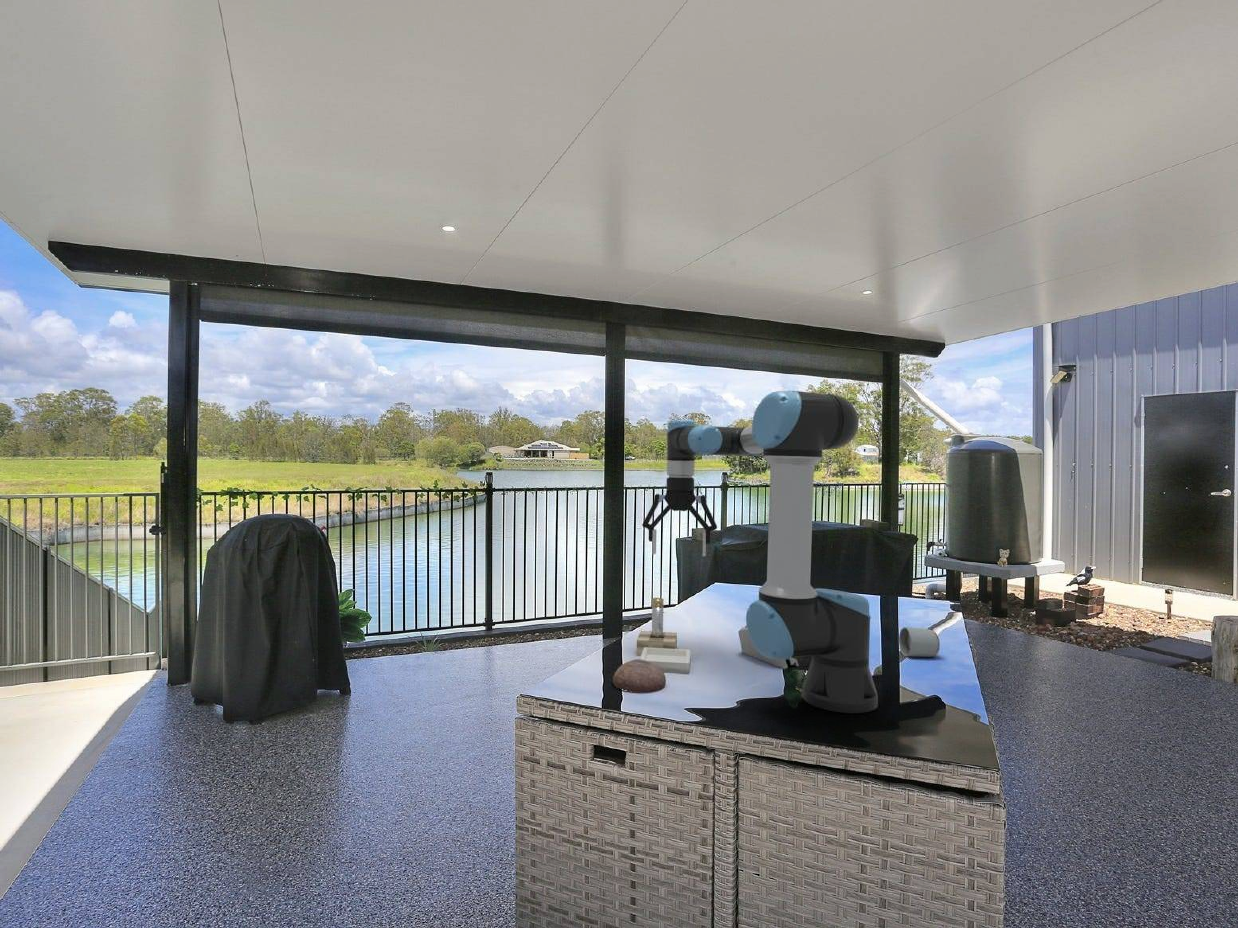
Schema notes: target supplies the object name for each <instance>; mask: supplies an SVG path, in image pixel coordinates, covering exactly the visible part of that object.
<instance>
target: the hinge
mask: <svg viewBox="0 0 1238 928" xmlns="http://www.w3.org/2000/svg"><path fill="white" fill-rule="evenodd" d="M737 632H738V637H739V641H740V642H739V643H740V648H741V652H742V653H744V654H745V653H746V655H748V656H749V657H750V656H751V657H753V658H756V659H758V660H760V661H763V662H765V663H768V664H771V665H772V666H776V667H778V668H781V669H783V670H786V669H788V668H789V667H788V666H789V665H790V666H796V667H799V662H798V660H797V659H796V658H790V659H785V660H784V659H769V658H766V657H765V656H763V655H762V654H760V653H759V652H758V650H757V649H756V648H755V646H754V644H753V642H752V641H751V639H750V637H749V634H748V630H747V625H744V627H741V628H740V629H739V630H738V631H737Z"/></svg>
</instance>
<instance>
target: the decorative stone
mask: <svg viewBox="0 0 1238 928" xmlns="http://www.w3.org/2000/svg"><path fill="white" fill-rule="evenodd" d="M613 684H614V685H613ZM666 684H667V683H666V675H665V672H662V671H661V670H660V669H659V668H658V667H657V666H655V665H654V664H652V663H651V662H649V661H646V660H642V659H640V658H636V659H632V660H629V661H626V662H624V663H622V664H621V665H620V666H619V667H618V668H617V670H616V671H615V672H614V675H613V677H612V685H613V687H614V686H615V687H616V688H615V687H614V688H615V689H617V688H620V689H623V690H627V691H632V692H631V693H636V692H650V693H655V692H658V691H659V692H660V691H661V690H662V689H664V688H665V686H666ZM623 690H622V691H623Z"/></svg>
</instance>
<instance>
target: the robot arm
mask: <svg viewBox="0 0 1238 928" xmlns="http://www.w3.org/2000/svg"><path fill="white" fill-rule="evenodd" d="M859 421H860V419H859V414H858V412H857V409H856V408H855V406H854V405H853V404H852V403H851V402H850V401H849V400H847V399H846V398H844V397H843V396H839V395H837V394H832V393H819V392H809V391H799V390H791V389H790V390H776V391H772V392H769V393H768V394H766V395H765V396H764V397H763V398H762V399H761V401H760V402H759V403H758V405H757V407H756V409H755V411H754V414H753V418H752V424H750V425H746V426H739V427H737V426H736V427H730V426H718V425H717V426H715V425H711V424H699V425H696V423H695V421H694V420H693V419H692V420H690V419H672V420H669V421H668V423H667V432H666V437H667V438H666V441H667V442H666V444H667V445H666V447H667V448H666V458H667V459H666V475H667V476H668V477H666V491H665V494H660V493H656V494H655V495H654V498H653V499H654V500H653V503H652V505H651V507H650V509H648V512H647V514H646V516H645V518H644V520H643V522H642V524H641V526H642V528H645V529H647V530H648V541H649V542H651V545H652V547H651V548H652V550H651V553H652V555H656V554H657V529H655V528H656V526H657V525H658V524H659V523H660V521H662V520H663V518H665V516H666V515H667V514H668V512H670V510H672V511H674V512H677V511H681V512H686V511H689V512H690V514H692V516H693V517H694V518H695V520H697V522H698V523H699V524H700V526H702V528H703V529H704V531H702V557H706V556H707V544H708V545H709V544H710V543H711V532H712V531H716V530H717V529H718V525H717V523H716V521H715V519H714V516H713V513H711V510H710V508H709V506H708V504H707V499H706V495H704V494H702V495H696V494H695V479H694V477H693V476H695V461H696V459H695V457H696V455H697V456H700V455H701V456H734V457H735V456H737V457H746V458H747V457H756V456H757V457H758V456H760V455H761V454H763V457H762V458H763V459H764V460H766V462H767V463H769V467H770V470H769V471H770V473H769V474H770V475H769V477H770V478H769V501H768V502H769V503H768V505H769V506H768V536H767V564H766V565H767V566H766V581H765V583H764V584H763V585H761V586H760V587H759V589H758V599H757V600H755V601H753V602H751V603H750V604H749V606H748V608H747V610H746V616H745V623H746V625H745V626H747V630H748V634H749V637H750V639H751V641H752V642H753V644H754V646H755V648H756V649H757V650H758V652H759V653H760V654H762V655H763V656H765V657H766V658H769V659H784V660H785V659H790V658H794V659H796V658H804V657H810V659H811V661H810V665H809V666H808V670H807V673H806V674H805V679H804V680H803V683H802V690H801V691H802V692H801V693H802V694H801V696H802V699H803V700H804V701H805V702H806V703H807V704H809V705H811V706H812V707H813V706H814V707H815V708H819V709H821V710H826V711H830V712H834V713H836V712H837V713H844V714H845V713H846V714H863V713H869V712H872V711H874V710H876V709H877V708H878V705H879V704H878V703H879V702H878V701H879V700H878V697H879V696H878V691H877V689H876V685H875V682H874V680H873V676H872V673H871V669H870V636H871V633H870V632H871V629H870V627H871V626H870V625H871V618H872V617H871V614H870V613H871V612H870V602H869V601H868V599H867V598H866V597H865V596H863V595H860V594H856V593H852V592H847V591H842V590H836V589H828V588H820V587H819V588H816V587H815V588H814V587H813V586H812V585H811V567H812V542H813V541H812V540H813V539H812V536H813V535H812V534H813V532H812V531H813V504H814V476H815V473H814V471H815V466H816V465H817V464H818V463H819V462H821V460H823V451H826V450H837V449H840V448H843V447H845V446H847V445H848V444H850V443H851V442H852V441H853V439H854V438H855V436H856V435H857V433H858V429H859V424H860V422H859ZM663 500H664V501H665V502H666V504H667V505H666V507H664V509H663V510H662V511H661V512H660V513H659V514H658V515H657V517H656V518H655V519H654V520H653V521H652V523H650V522H651V519H652V518H653V516H654V514H655V512H656V510H657V508H658V506H659V503H661V502H663ZM696 501H697V502H698V503H699V504H700V505H701V507H702V509H703V511H704V514H705V515H706V517H707V519H708V522H709V524H710V525H708V523H707V521H706V520H705V519H703V517H702V516H701V515H700V513H699V512H698V511H697V509H695V507H694V506H693V505H694V503H695V502H696Z"/></svg>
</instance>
